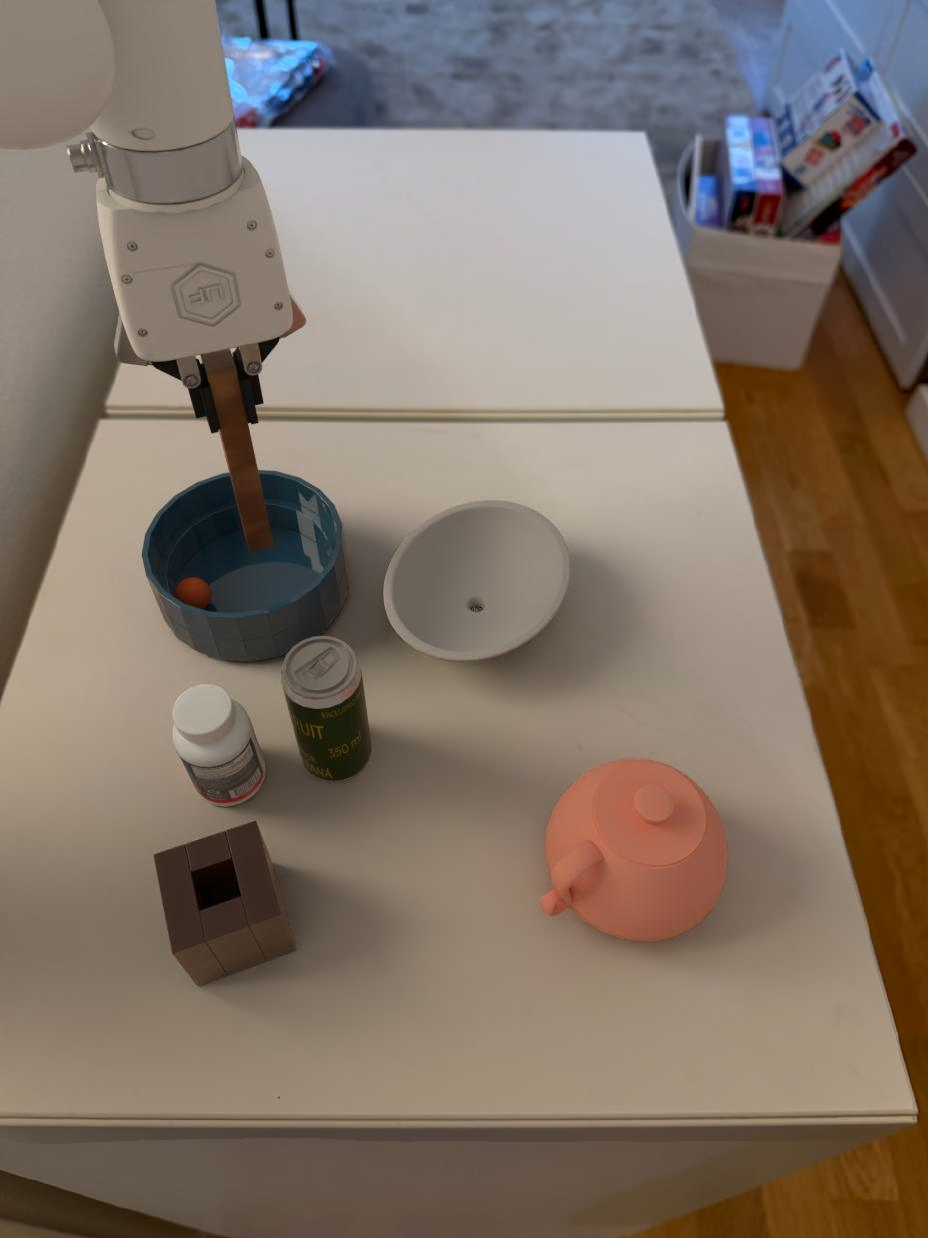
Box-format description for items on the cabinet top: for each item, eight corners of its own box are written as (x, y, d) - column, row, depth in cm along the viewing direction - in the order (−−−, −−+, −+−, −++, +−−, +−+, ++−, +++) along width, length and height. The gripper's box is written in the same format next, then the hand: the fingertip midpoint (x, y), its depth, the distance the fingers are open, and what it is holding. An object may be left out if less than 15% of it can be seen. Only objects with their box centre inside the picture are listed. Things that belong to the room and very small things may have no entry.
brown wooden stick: (250, 552, 75) (205, 371, 61) (244, 535, 76) (199, 353, 62) (274, 546, 75) (235, 364, 61) (268, 529, 76) (229, 347, 62)
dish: (501, 725, 72) (505, 691, 68) (348, 650, 76) (343, 613, 72) (596, 575, 81) (604, 537, 77) (455, 515, 86) (455, 476, 82)
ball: (206, 617, 79) (176, 621, 76) (191, 587, 79) (161, 591, 77) (223, 599, 77) (194, 603, 74) (209, 568, 78) (178, 571, 75)
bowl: (181, 689, 74) (161, 642, 69) (148, 547, 83) (127, 496, 78) (372, 633, 77) (367, 584, 72) (320, 502, 86) (312, 450, 81)
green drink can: (335, 711, 73) (318, 620, 63) (386, 749, 71) (377, 661, 61) (287, 758, 70) (261, 670, 61) (338, 799, 68) (320, 715, 59)
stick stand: (197, 987, 60) (171, 953, 54) (178, 894, 64) (152, 854, 58) (296, 950, 62) (281, 914, 56) (272, 862, 65) (255, 819, 60)
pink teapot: (752, 892, 64) (796, 831, 56) (592, 1003, 60) (614, 955, 52) (642, 759, 70) (667, 686, 62) (489, 850, 66) (494, 785, 58)
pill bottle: (194, 749, 70) (162, 679, 63) (265, 739, 71) (242, 668, 63) (194, 814, 67) (160, 748, 59) (268, 803, 68) (244, 737, 60)
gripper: (25, 212, 47) (124, 478, 61) (330, 162, 50) (354, 424, 65) (13, 144, 51) (108, 408, 65) (295, 103, 54) (325, 361, 69)
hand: (230, 414), depth 65 cm, fingers closed on brown wooden stick, 2 cm apart
